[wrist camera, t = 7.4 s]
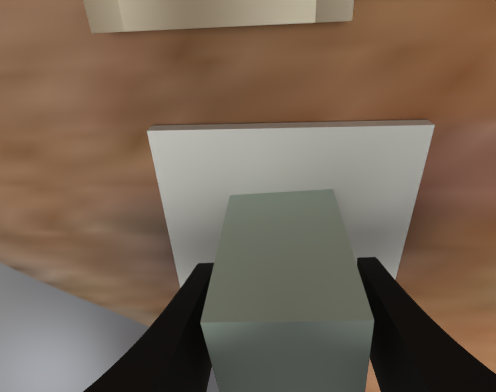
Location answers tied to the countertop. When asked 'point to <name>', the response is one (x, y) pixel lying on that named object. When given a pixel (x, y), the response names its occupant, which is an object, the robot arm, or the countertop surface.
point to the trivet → (290, 178)
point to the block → (287, 298)
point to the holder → (209, 13)
